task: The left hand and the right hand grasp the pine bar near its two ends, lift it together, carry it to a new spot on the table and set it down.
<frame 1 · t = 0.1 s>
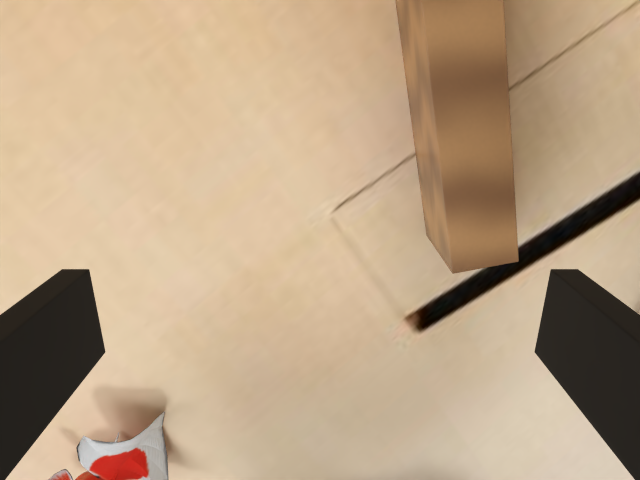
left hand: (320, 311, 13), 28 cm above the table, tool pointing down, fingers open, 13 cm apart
fish: (126, 440, 50), on the table
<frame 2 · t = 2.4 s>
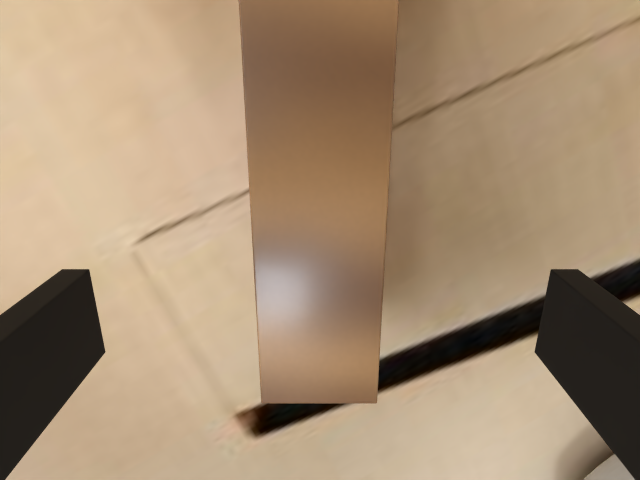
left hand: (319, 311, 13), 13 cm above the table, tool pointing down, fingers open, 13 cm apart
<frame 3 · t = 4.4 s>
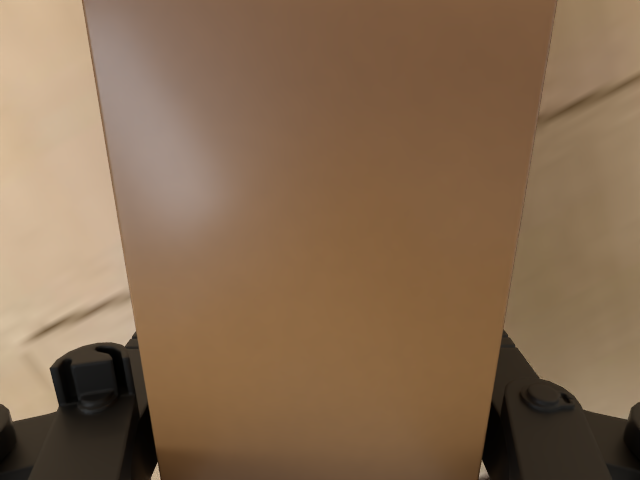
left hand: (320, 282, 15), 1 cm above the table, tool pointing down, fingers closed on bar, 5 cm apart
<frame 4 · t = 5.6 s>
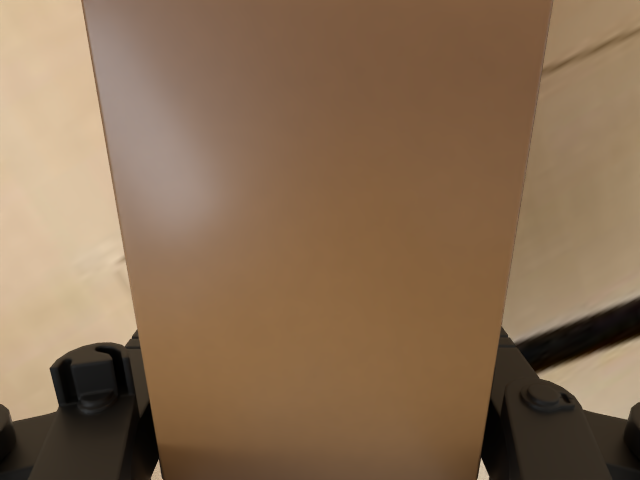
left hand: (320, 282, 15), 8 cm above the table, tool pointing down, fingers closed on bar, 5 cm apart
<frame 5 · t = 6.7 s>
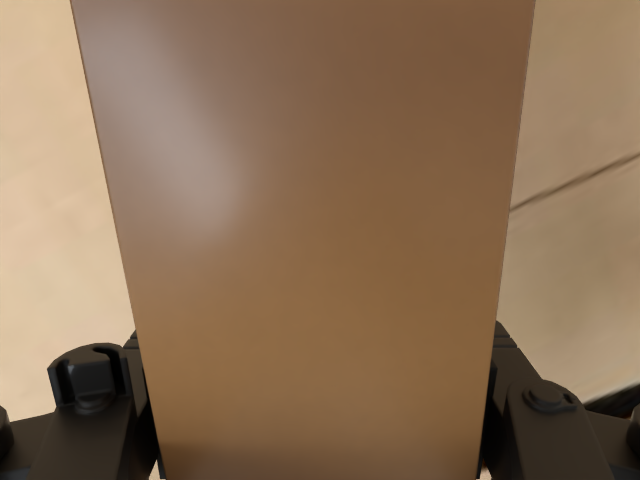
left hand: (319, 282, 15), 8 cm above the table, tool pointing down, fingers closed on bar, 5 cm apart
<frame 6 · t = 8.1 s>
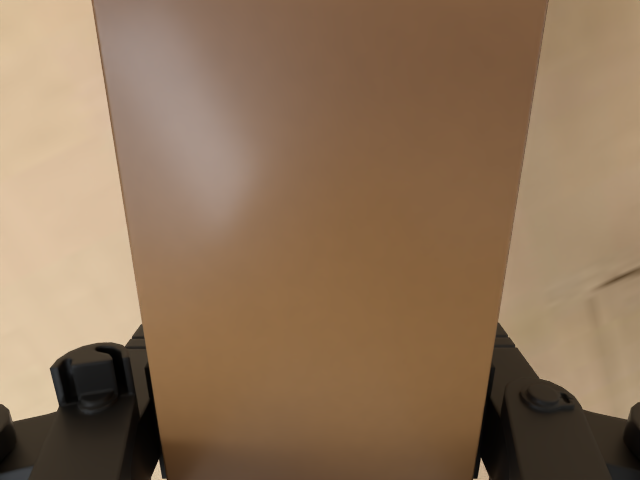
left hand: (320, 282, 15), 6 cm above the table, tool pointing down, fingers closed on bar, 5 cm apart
when the left hand's fingers open (2 cm above the table, at t = 8.9 s): bar drops 1 cm, on the table.
when the right hand's fingers open (5 cm above the table, at t = 9.0 s): bar stays where it is, on the table.
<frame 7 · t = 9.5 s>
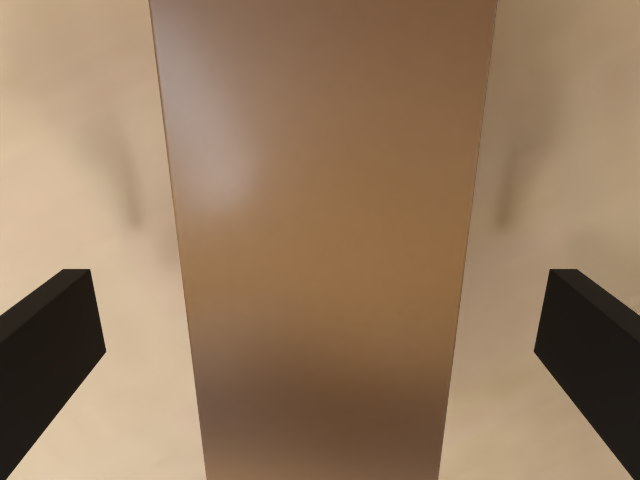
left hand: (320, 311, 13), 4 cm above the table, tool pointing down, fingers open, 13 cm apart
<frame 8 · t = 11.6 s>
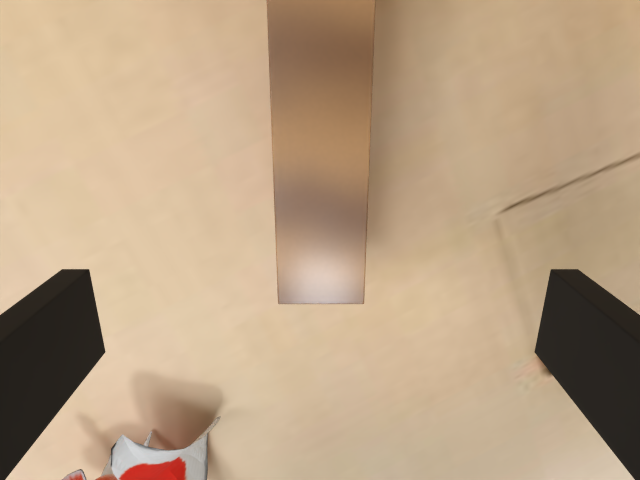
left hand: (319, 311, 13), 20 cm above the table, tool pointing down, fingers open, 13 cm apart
fish: (157, 442, 40), on the table
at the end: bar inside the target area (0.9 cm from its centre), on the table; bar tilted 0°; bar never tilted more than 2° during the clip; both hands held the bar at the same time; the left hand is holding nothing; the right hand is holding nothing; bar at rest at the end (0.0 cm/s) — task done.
